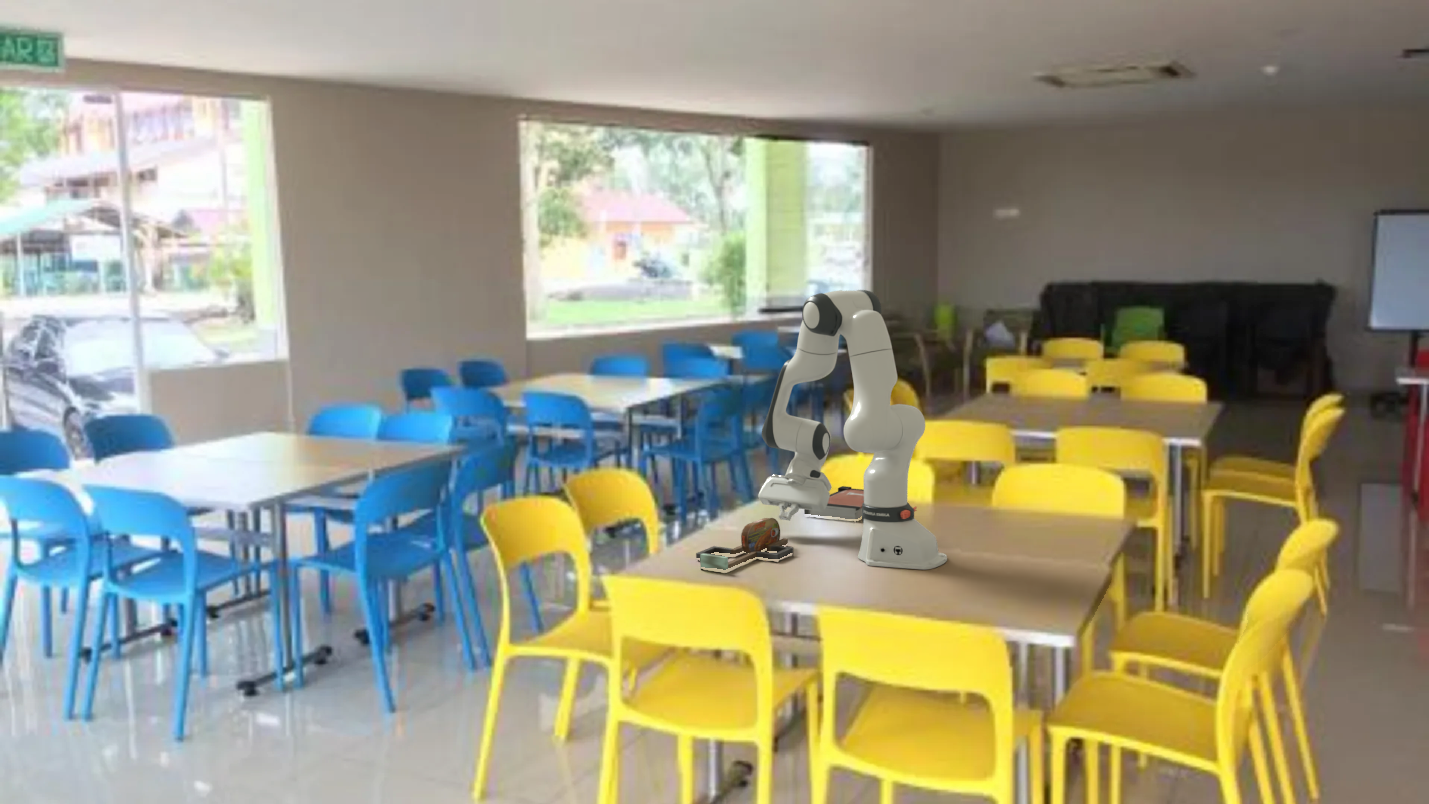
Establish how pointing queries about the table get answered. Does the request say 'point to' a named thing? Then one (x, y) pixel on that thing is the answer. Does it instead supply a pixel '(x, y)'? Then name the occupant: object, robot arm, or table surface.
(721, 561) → the trap lane
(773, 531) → the tin
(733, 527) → the table surface
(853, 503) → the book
